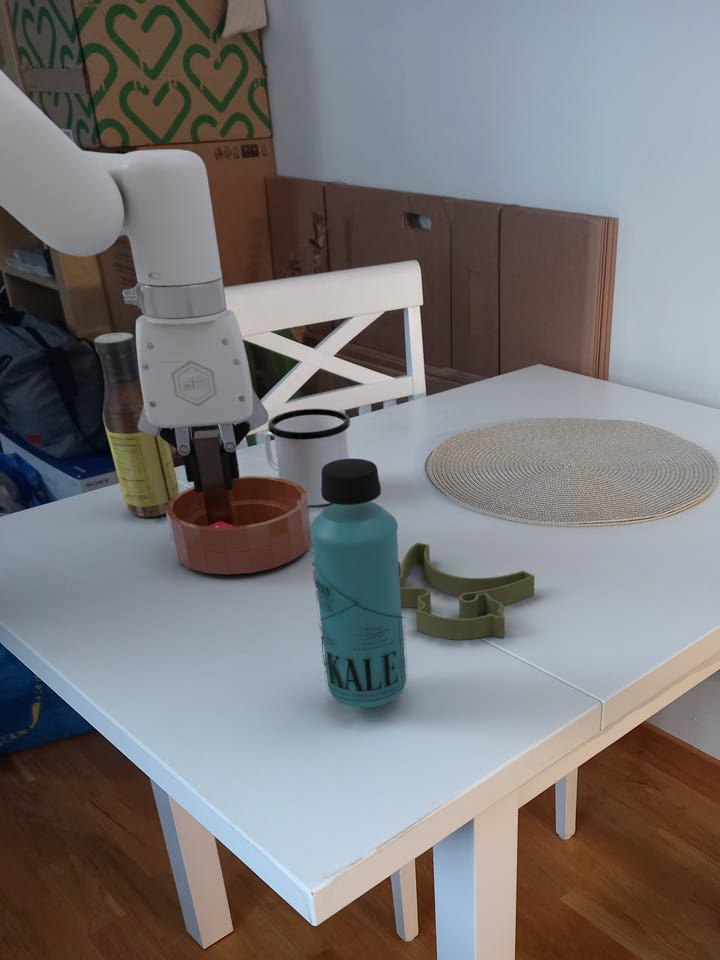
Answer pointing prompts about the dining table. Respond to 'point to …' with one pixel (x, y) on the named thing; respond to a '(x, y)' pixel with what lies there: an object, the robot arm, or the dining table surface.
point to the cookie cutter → (462, 599)
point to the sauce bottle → (133, 431)
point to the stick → (213, 477)
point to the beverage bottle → (358, 587)
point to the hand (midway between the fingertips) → (215, 485)
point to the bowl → (242, 527)
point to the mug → (307, 447)
